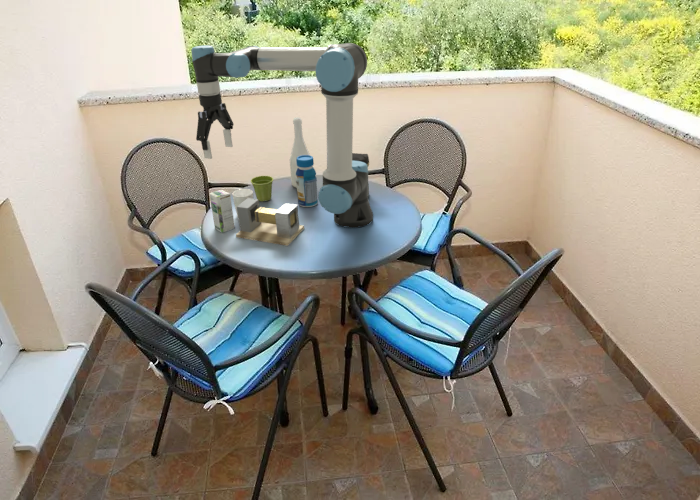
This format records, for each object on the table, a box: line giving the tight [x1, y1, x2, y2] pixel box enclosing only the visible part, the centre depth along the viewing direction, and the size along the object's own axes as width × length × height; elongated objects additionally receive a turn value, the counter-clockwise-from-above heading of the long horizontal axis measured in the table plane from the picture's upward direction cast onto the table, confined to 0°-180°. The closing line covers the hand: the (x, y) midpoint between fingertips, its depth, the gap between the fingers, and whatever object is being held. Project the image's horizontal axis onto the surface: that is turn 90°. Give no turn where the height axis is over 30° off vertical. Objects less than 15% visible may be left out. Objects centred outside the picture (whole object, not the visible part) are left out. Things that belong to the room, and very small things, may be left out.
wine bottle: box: [289, 117, 311, 189], centre depth 222 cm, size 10×10×30 cm
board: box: [235, 222, 305, 247], centre depth 190 cm, size 21×14×1 cm, turn 70°
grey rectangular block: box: [275, 202, 300, 239], centre depth 185 cm, size 5×8×10 cm, turn 160°
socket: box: [236, 198, 261, 232], centre depth 190 cm, size 4×8×10 cm, turn 160°
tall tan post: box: [255, 206, 295, 226], centre depth 186 cm, size 14×4×4 cm, turn 70°
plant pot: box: [250, 175, 274, 202], centre depth 215 cm, size 9×9×9 cm
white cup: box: [231, 188, 254, 218], centre depth 201 cm, size 8×8×10 cm
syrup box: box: [209, 189, 236, 234], centre depth 191 cm, size 6×6×14 cm
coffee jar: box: [352, 152, 370, 196], centre depth 213 cm, size 10×8×19 cm
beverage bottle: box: [296, 154, 319, 208], centre depth 207 cm, size 8×8×20 cm
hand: (219, 152), depth 188 cm, fingers open, 13 cm apart
